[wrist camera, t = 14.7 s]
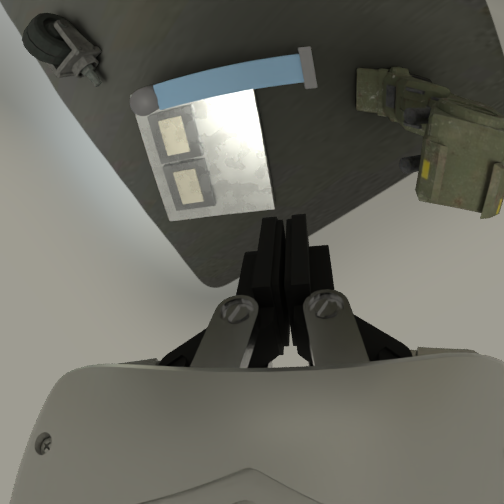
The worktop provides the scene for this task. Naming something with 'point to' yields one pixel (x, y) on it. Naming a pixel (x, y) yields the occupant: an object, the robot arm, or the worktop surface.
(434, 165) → the mechanical leg
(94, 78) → the caster wheel
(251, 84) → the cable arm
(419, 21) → the worktop surface
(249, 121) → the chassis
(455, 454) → the robot arm
